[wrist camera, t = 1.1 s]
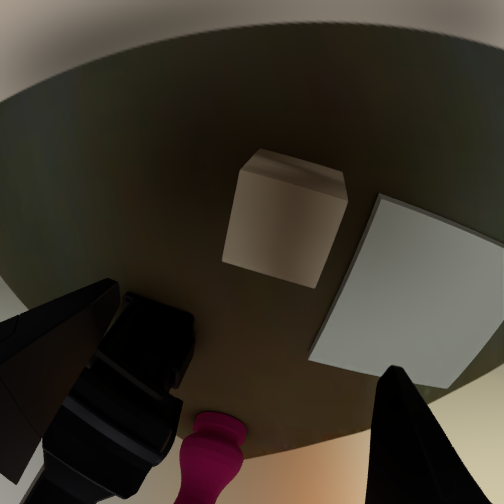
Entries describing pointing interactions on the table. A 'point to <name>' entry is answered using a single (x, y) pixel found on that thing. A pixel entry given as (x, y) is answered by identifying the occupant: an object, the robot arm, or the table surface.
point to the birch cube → (285, 217)
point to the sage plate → (414, 297)
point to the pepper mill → (210, 457)
